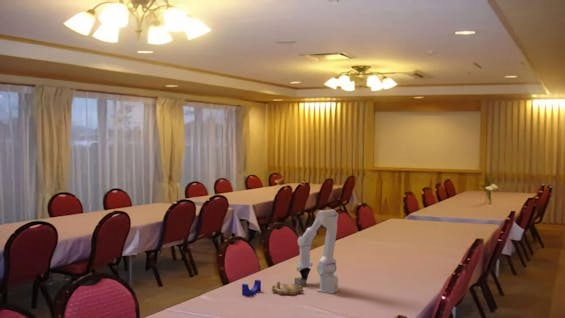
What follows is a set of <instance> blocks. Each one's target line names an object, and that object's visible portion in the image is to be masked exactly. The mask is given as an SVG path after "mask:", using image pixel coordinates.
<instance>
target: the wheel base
mask: <svg viewBox="0 0 565 318" xmlns="http://www.w3.org/2000/svg"><path fill="white" fill-rule="evenodd" d="M275 294H278V293H277V292H275ZM297 294H299V292H298V293H294V294H291V295H297ZM283 295H284V296H291V295H290V294H283Z"/></svg>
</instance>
